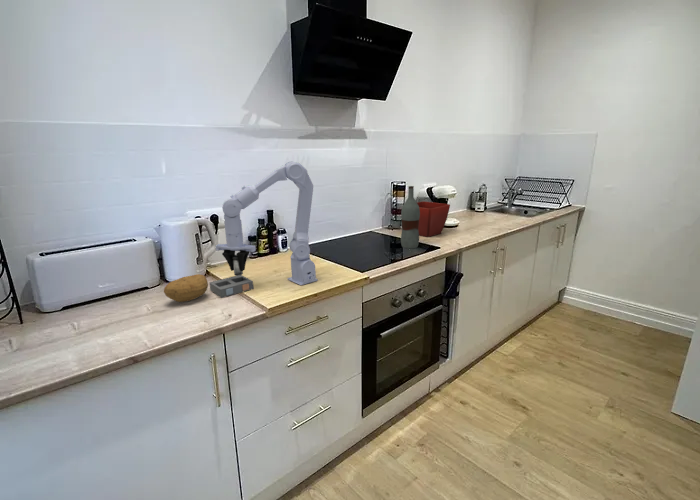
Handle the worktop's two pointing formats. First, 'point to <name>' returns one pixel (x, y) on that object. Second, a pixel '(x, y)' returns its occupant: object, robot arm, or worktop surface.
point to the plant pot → (432, 218)
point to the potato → (186, 288)
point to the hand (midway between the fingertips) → (237, 270)
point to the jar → (236, 265)
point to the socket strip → (231, 285)
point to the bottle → (410, 221)
